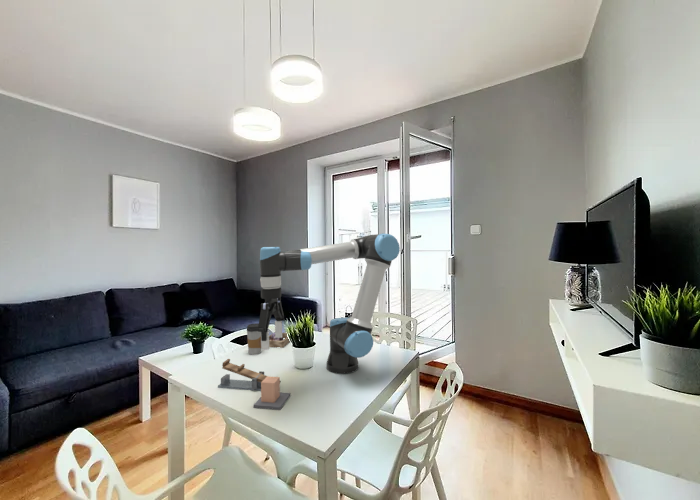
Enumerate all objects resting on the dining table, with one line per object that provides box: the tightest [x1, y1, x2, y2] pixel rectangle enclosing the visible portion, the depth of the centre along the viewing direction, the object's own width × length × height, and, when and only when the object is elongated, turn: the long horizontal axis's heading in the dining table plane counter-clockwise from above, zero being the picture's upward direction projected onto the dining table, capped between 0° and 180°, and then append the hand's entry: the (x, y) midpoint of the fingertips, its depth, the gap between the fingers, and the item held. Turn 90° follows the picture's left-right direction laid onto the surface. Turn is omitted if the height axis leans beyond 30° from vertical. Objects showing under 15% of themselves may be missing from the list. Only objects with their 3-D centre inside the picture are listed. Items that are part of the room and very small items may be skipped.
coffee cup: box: [246, 322, 262, 356], centre depth 158 cm, size 8×8×15 cm
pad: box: [253, 391, 292, 411], centre depth 108 cm, size 10×10×1 cm
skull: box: [270, 331, 284, 341], centre depth 174 cm, size 12×8×6 cm, turn 2°
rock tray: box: [269, 332, 290, 349], centre depth 175 cm, size 12×16×4 cm
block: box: [260, 375, 281, 403], centre depth 108 cm, size 5×5×7 cm
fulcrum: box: [217, 371, 265, 392], centre depth 120 cm, size 22×7×5 cm, turn 81°
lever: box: [221, 358, 282, 383], centre depth 120 cm, size 24×5×3 cm, turn 81°
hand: (272, 343), depth 112 cm, fingers open, 13 cm apart
